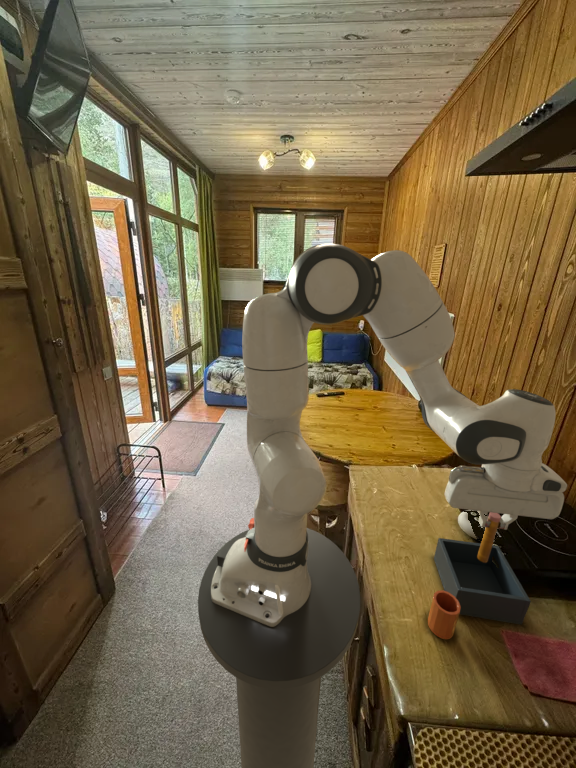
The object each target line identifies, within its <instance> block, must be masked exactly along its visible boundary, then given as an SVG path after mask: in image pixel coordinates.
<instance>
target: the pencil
mask: <svg viewBox="0 0 576 768" xmlns="http://www.w3.org/2000/svg"><path fill="white" fill-rule="evenodd" d="M488 513H489V514H488V519H489V520H490V521H491V523H490V525H489V526H490V527H489V528H488V527H485V531H484V534H483V538H482V541H480V544H481V545H480V548H479V552H478V555H477V558H478V559H479V560H480V561H481V562H485V563H486V562H487V561H488V558H489V555H490V552H491V549H492V545H494V541H495V540H496V539H495V535H496V532H497V529H498V526H499V522H500V519H501V517H502V515H500V513H493V512H488ZM494 539H495V540H494Z"/></svg>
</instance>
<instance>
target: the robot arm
mask: <svg viewBox="0 0 576 768" xmlns="http://www.w3.org/2000/svg"><path fill="white" fill-rule="evenodd" d="M361 316H363V318H364V319H365V320H366V321H367V322H368V323H369V326H370V327H371V328H372V331H373V332H374V333H375V335H376V337H377V339H378V340H379V342H380V344H381V346H383V348H384V349H385V350H386V352H387V353H388V354H389V356H390V357H391V358H392V359H393V360H394V362H395V363H397V364H398V365H399V366H400V367H401V368H402V369H403V370H404V371H405V372H406V374H407V376H408V378H409V379H410V382H411V383H412V385H413V387H414V389H415V390H416V392H417V394H418V397H419V399H420V406H421V416H422V420H423V423H424V424H425V426H426V427H427V428H428V429H430V431H432V432H433V433H435V435H437V436H438V437H439V438H440V439H441V441H442V442H444V443H445V444H446V445H447V446H448V447H449V448H450V449H451V450H452V451H453V452H454V454H456V455H457V456H458V457H459V458H461V459H462V460H463V461H464V462H466V463H468V464H472V465H481V466H468V465H462V464H461V465H459V466H457V467H454V468H452V469H450V472H449V476H448V482H447V483H446V486H445V489H444V490H445V491H444V498H445V500H446V502H447V503H448V504H449V506H450V507H451V508H453V509H459V510H467V511H471V510H472V511H477V512H478V513H479V515H480V516H479V520H478V522H479V524H480V525H479V524H478V525H479V527H481V528H483V527H488V528H489V527H490V526H489V525H490V523H491V521H490V520H489V519H488V517H489V514H488V513H490V512H493V513H498V514H503V515H501V519H500V522H499V526H498V529H499V530H505V531H507V530H508V527H509V525H510V524H512V523H513V522H515V521H516V520H517V519H518V516H520V517H528V518H536V519H547V520H554V519H556V518H558V517H559V516H560V514H561V512H562V510H563V506H564V502H565V495H564V492H565V491H566V490H567V489H568V484H567V482H566V481H565V480H564V479H563V478H562V477H561V476H560V475H559V474H558V473H556V472H555V471H554V470H553V468H551V467H550V466H548V464H547V465H546V464H545V463H543V460H542V457H543V454H544V451H546V450H547V449H548V446H549V445H550V442H551V438H552V435H553V431H554V428H555V422H556V407H555V404H553V403H552V401H550V400H549V399H547V398H545V397H543V396H541V395H538V394H536V393H533V392H530V391H526V390H522V389H516V388H512V389H511V388H510V389H506V390H505V392H504V393H503V394H502V395H501V396H500V397H499V398H496V399H495V400H493V401H491V402H488V403H487V404H483V405H479V404H477V403H475V402H474V401H473V400H471V399H469V398H468V396H466V395H465V394H464V393H462V392H460V391H459V390H458V389H456V388H454V387H453V386H452V385H451V383H450V382H449V379H448V377H447V375H446V373H445V371H444V369H443V367H442V364H441V363H440V360H441V359H442V358H443V357H444V356H445V355H446V354H447V353H448V352H449V351H450V349H451V347H452V346H453V343H454V341H455V337H456V333H455V329H454V325H453V321H452V317H451V316H450V313H449V311H448V309H447V307H446V305H445V303H444V301H443V300H442V298H441V296H440V294H439V292H438V290H437V288H436V286H435V285H434V284H433V282H432V281H431V279H430V278H429V276H428V275H427V273H426V272H425V271H424V270H423V268H422V267H421V266H420V264H419V263H418V262H417V260H415V259H414V258H413V256H412V255H411V254H410V253H408V252H407V251H404V250H400V249H395V250H389V251H385V252H381V253H379V254H377V255H376V256H374V257H372V258H371V259H370V258H369V257H367V256H365V255H363V254H361V253H359V252H358V251H356V250H354V249H352V248H350V247H348V246H346V245H343V244H339V243H334V242H333V243H323V244H322V243H321V244H316V245H313V246H311V247H308V248H307V249H305V250H303V251H302V252H301V253H300V254H299V255H298V256H297V257H296V259H295V260H294V262H293V263H292V265H291V267H290V270H289V273H288V276H287V278H286V280H285V282H284V284H283V286H282V288H281V290H279V291H277V292H271V293H270V292H269V293H264V294H261V295H258V296H257V297H254V298H253V299H252V300H250V301H249V302H248V303H247V305H246V307H245V309H244V313H243V320H242V339H241V345H242V346H241V347H242V348H241V349H242V362H243V363H242V365H243V373H244V375H243V376H244V386H245V396H246V410H247V411H246V446H247V451H248V454H249V457H250V459H251V462H252V465H253V468H254V471H255V476H256V479H257V482H258V497H257V499H256V500H255V502H254V505H253V517H252V518H250V519H249V523H248V525H247V527H248V530H249V529H250V530H249V531H248V532H247V535H246V537H244V538H241V539H238V540H237V541H236V542H235V543H234V544H233V545H232V544H228V543H227V542H225V543H224V544H223V545H222V547H223V548H222V549H221V551H220V552H219V554H218V555H217V561H218V566H217V569H216V571H215V574H214V576H213V580H212V584H211V599H212V602H214V603H215V604H218V605H220V606H222V607H225V608H227V609H229V610H232V611H234V612H237V613H239V614H241V615H244V616H246V617H248V618H251V619H253V620H256V621H258V622H260V623H263V624H265V625H268V626H270V627H274V626H276V625H277V624H279V623H280V622H281V620H282V619H283V618H284V617H285V616H287V615H289V614H291V613H293V612H295V611H297V610H298V609H299V608H301V607H302V606H303V605H304V603H305V602H306V601H307V599H308V597H309V595H310V591H311V579H310V576H309V573H308V569H307V562H306V561H307V557H308V534H307V531H306V529H307V528H308V514H309V513H310V512H312V511H313V510H315V509H316V508H318V506H319V505H320V504H321V503H322V501H323V499H324V498H325V495H326V493H327V487H328V486H327V479H326V477H325V474H324V471H323V468H322V465H321V462H320V459H318V457H317V455H316V454H315V453H314V452H313V450H312V449H311V447H310V446H309V445H308V444H307V442H306V440H305V439H304V435H303V434H302V429H301V420H302V419H301V418H302V414H303V411H304V410H305V409H306V407H307V406H308V403H309V398H310V397H309V361H308V360H309V356H308V339H309V332H310V330H311V328H312V326H313V325H314V324H319V325H326V326H328V325H329V326H330V325H336V324H340V323H344V322H346V321H349V320H352V319H354V318H359V317H361ZM484 514H485V515H487V516H485V515H484ZM214 588H217V589H214ZM266 616H269V618H266Z"/></svg>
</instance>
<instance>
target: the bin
mask: <svg viewBox="0 0 576 768" xmlns="http://www.w3.org/2000/svg"><path fill="white" fill-rule="evenodd" d="M480 545H481V542H472V541H464V540H456V539H450V538H444V537H443V538H441V537H438V539H437V543H436V548H435V551H434V556H433V560H434V563H435V566H436V570H437V573H438V575H439V578H440V582H441V585H442V587H443V591H446V592H449V593H450V594H452V595H453V596H455V598H456V599H457V600H458V601H459V604H460V606H461V609H460V614H459V615H461V616H467V617H474V618H479V619H486V620H492V621H498V622H503V623H509V624H515V625H520V626H522V625H523V622H524V620H525V617H526V616H527V614H528V610H529V608H530V605H531V599H530V597H529V595H528V594H527V592H526V590H525V589H524V587H523V585H522V583H521V581H519V578H518V577H517V575H516V574H515V572H514V570H513V568H512V567H511V565H510V563H509V561H508V560H507V558H506V556H505V555H504V553H503V551H502V549H501V547H500V546H499V545H495V544H493V545H492V549H491V552H490V555H489V558H488V561H487V562H486V563H485V562H481V561H480V560H479V559H478V558H477V555H478V552H479V548H480ZM493 556H494V558H495V559H496V561H497V562H498V564H499V568H497V567H496V565H495V564H494V563H493V562H492V557H493Z"/></svg>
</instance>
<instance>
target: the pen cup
mask: <svg viewBox="0 0 576 768" xmlns="http://www.w3.org/2000/svg"><path fill="white" fill-rule="evenodd" d="M431 600H432V601H431V604H430V609H429V613H428V617H427V625H428V628H429V629H430V631H431V632H432V633H433V634H434V635H435V636H436V637H438V638H440V639H442V640H449V639H452V637H453V636H454V634H455V630H456V627H457V624H458V620H459V617H460V615H461V614H460V609H461V606H460V604H459V601H458V600H457V599H456V598H455V596H453V595H452V594H450V593H449V592H446V591H444V589H442V590H441V589H439V590H437V591H435V592H433V596H432V599H431Z"/></svg>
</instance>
